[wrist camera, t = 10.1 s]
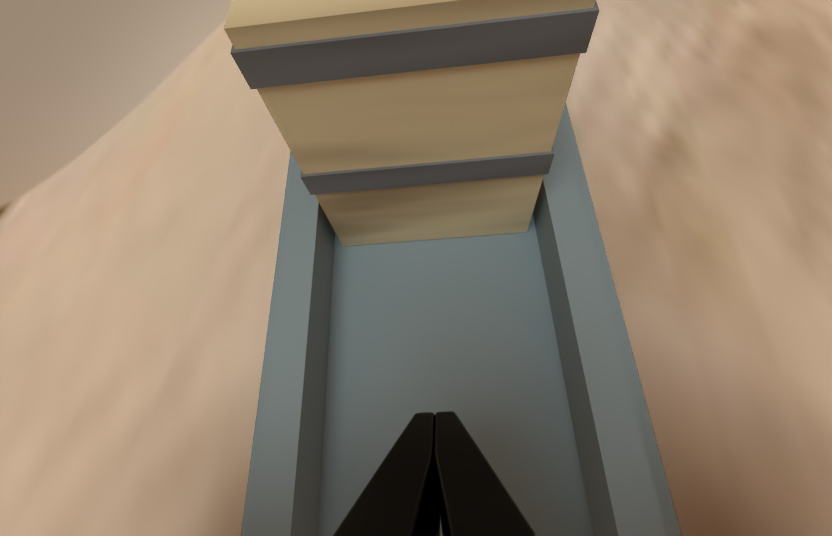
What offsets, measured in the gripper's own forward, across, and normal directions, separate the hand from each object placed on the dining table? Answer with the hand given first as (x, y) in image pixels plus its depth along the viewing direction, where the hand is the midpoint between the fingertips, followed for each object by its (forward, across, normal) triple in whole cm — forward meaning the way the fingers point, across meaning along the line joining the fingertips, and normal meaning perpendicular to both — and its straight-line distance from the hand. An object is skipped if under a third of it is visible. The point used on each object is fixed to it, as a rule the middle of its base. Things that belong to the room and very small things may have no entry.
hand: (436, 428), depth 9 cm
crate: (+12, 0, -4) cm, 13 cm away
